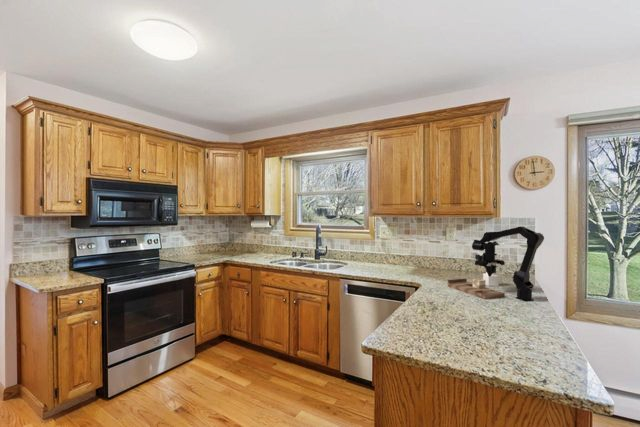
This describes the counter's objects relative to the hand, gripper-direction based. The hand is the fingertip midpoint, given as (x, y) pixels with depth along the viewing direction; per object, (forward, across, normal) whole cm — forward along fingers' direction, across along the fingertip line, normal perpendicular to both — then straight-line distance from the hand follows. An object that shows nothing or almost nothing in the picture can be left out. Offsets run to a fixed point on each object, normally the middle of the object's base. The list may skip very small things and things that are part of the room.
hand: (489, 276), depth 189 cm
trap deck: (+10, +10, -2) cm, 14 cm away
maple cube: (+7, +7, -2) cm, 10 cm away
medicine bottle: (+10, -15, -13) cm, 22 cm away
